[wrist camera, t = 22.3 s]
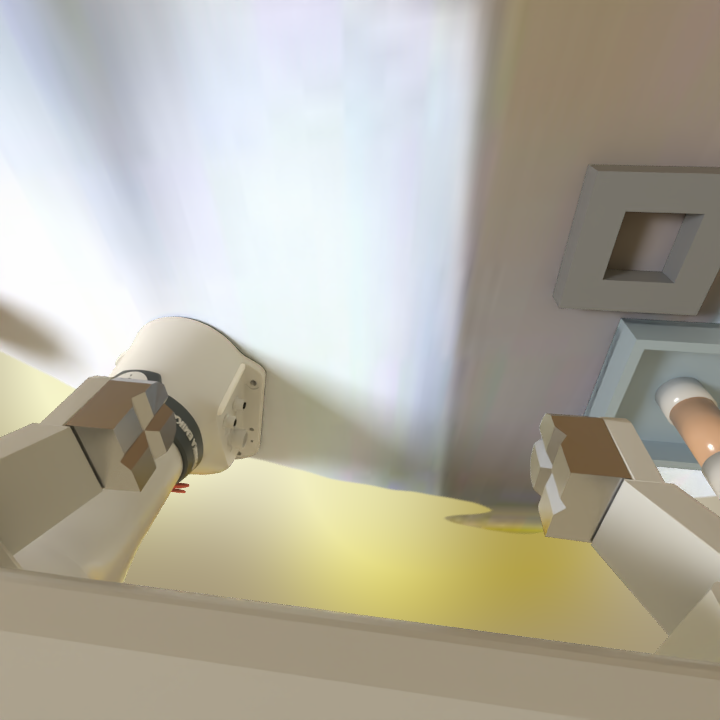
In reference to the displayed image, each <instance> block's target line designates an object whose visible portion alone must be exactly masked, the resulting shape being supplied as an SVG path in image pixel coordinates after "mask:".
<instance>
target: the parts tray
mask: <svg viewBox="0 0 720 720" xmlns="http://www.w3.org/2000/svg"><path fill="white" fill-rule="evenodd" d="M677 377H692V378H695V379H697V380H698V381H699V382H700V383H701V384H702V385H703V386H704V388H705V389H706V390H707V391H708V392H709V394H710V395H711V396H712V397H713V399H714V400H715V401H716V402H717V405H718V408H719V410H720V324H717V323H699V322H681V321H663V320H646V319H628V318H621V320H620V322H619V325H618V327H617V330H616V333H615V335H614V338H613V340H612V343H611V346H610V348H609V351H608V353H607V356H606V359H605V361H604V364H603V367H602V369H601V372H600V374H599V377H598V380H597V382H596V385H595V387H594V390H593V393H592V395H591V398H590V400H589V403H588V406H587V408H586V411H585V414H584V416H589V417H612V418H626V419H628V420H629V421H630V422H631V423H632V425H633V426H634V428H635V430H636V432H637V434H638V435H639V437H640V439H641V441H642V442H643V444H644V446H645V448H646V450H647V451H648V453H649V455H650V457H651V459H652V460H653V462H654V464H655V466H657V467H668V468H679V469H690V470H701V471H702V467H701V466H700V464H699V463H698V461H697V460H696V458H695V457H694V455H693V454H692V452H691V451H690V449H689V448H688V446H687V445H686V443H685V442H684V440H683V439H682V437H681V435H680V434H679V432H678V431H677V429H676V428H675V426H673V425H672V424H670V423H669V421H668V420H667V418H666V417H665V415H664V414H663V412H662V410H661V409H660V407H659V406H658V404H657V403H656V401H655V393H656V391H657V389H658V388H659V387H660V386H661V385H662V384H664V383H665V382H667V381H669V380H671V379H674V378H677Z"/></svg>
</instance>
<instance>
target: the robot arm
mask: <svg viewBox="0 0 720 720" xmlns="http://www.w3.org/2000/svg"><path fill="white" fill-rule="evenodd" d="M115 365H116V367H115V368H114V370H113V371H112V372H111V373H110V375H109V376H108V377H106V376H93V377H89V378H88V379H87V380H86V381H84V382H83V383H82V384H81V385H80V386H79V387H78V388H77V389H76V390H75V391H74V392H73V393H72V394H71V395H70V396H68V397H67V398H66V399H65V401H63V402H62V403H61V404H60V405H59V406H58V407H57V408H56V409H55V410H54V411H53V412H51V413H50V414H49V415H48V416H47V417H46V418H45V419H44V420H43V421H42V422H41V423H40V424H38V423H32V424H30V425H27V426H25V427H23V428H21V429H18V430H16V431H14V432H11V433H9V434H7V435H4V436H2V437H0V720H720V517H719V516H717V515H716V514H715V513H714V512H712V511H711V510H709V509H708V508H707V507H705V506H704V505H703V504H701V503H700V502H698V501H697V500H696V499H694V498H693V497H691V496H690V495H689V494H687V493H686V492H685V491H683V490H682V489H680V488H679V487H678V486H676V485H675V484H670V483H665V482H664V480H663V478H662V476H661V475H660V473H659V471H658V469H657V467H656V466H655V464H654V462H653V460H652V459H651V457H650V455H649V453H648V451H647V450H646V448H645V446H644V444H643V442H642V441H641V439H640V437H639V435H638V434H637V432H636V430H635V428H634V426H633V425H632V423H631V422H630V421H629V420H628V419H626V418H612V417H589V416H576V415H562V414H549V413H546V414H545V415H544V417H543V418H542V421H541V424H540V427H539V429H540V432H541V436H542V439H540V440H539V441H537V442H536V443H534V446H533V450H532V454H531V462H530V473H531V481H532V485H533V489H534V490H535V491H536V492H537V493H538V494H539V495H540V496H541V499H540V502H539V505H538V510H539V514H540V518H541V522H542V526H543V530H544V534H545V536H546V537H553V538H561V539H568V540H576V541H582V542H590V543H592V544H591V546H592V547H593V548H594V549H595V550H596V551H597V553H598V554H599V555H600V556H601V557H602V558H603V560H604V561H605V562H606V563H607V564H608V565H609V567H610V568H611V569H612V570H613V571H614V572H615V574H616V575H617V576H618V577H619V578H620V579H621V581H622V582H623V583H624V584H625V585H626V586H627V588H628V589H629V590H630V591H631V592H632V593H633V594H634V596H635V597H636V598H637V599H638V600H639V602H640V603H641V604H642V605H643V606H644V607H645V608H646V610H647V611H648V612H649V613H650V614H651V615H652V617H653V618H654V619H655V620H656V621H657V623H658V624H659V625H660V626H661V627H662V628H663V630H664V631H665V632H666V633H667V634H668V635H669V637H668V638H667V639H666V640H665V641H664V643H663V644H662V645H661V646H660V647H659V648H658V650H657V651H656V652H655V653H654V654H649V653H642V652H635V651H626V650H620V649H612V648H604V647H597V646H590V645H582V644H575V643H567V642H560V641H551V640H544V639H537V638H529V637H522V636H515V635H508V634H500V633H492V632H484V631H478V630H470V629H463V628H455V627H447V626H440V625H432V624H425V623H418V622H410V621H403V620H395V619H388V618H380V617H373V616H365V615H358V614H350V613H343V612H335V611H328V610H321V609H313V608H306V607H298V606H291V605H283V604H275V603H267V602H260V601H253V600H245V599H238V598H230V597H222V596H215V595H207V594H200V593H192V592H185V591H177V590H169V589H162V588H154V587H147V586H140V585H132V584H125V583H124V581H125V578H126V576H127V573H128V570H129V568H130V566H131V563H132V561H133V559H134V556H135V554H136V552H137V550H138V548H139V546H140V544H141V543H142V541H143V539H144V537H145V535H146V534H147V532H148V530H149V529H150V527H151V525H152V523H153V522H154V520H155V518H156V517H157V515H158V513H159V511H160V510H161V508H162V506H163V505H164V503H165V501H166V499H167V498H168V496H169V494H170V492H177V493H185V491H184V490H180V489H175V488H185V487H189V484H185V483H179V482H180V481H181V480H183V479H184V478H185V477H186V476H187V475H188V474H199V475H205V474H215V473H220V472H222V471H224V470H226V469H228V468H229V467H230V466H231V464H232V463H233V461H234V459H242V458H247V457H250V456H253V455H255V454H256V453H257V452H258V450H259V448H260V439H261V427H262V415H263V403H264V390H265V378H266V372H265V370H264V368H263V367H262V366H260V365H259V364H257V363H256V362H254V361H253V360H251V359H249V358H247V357H245V356H244V355H243V354H242V353H240V352H239V351H238V349H237V348H236V347H235V346H234V345H233V344H232V343H231V342H230V341H229V340H228V339H227V338H226V337H225V336H223V335H222V334H221V333H219V332H218V331H216V330H215V329H213V328H211V327H210V326H208V325H205V324H203V323H201V322H198V321H195V320H192V319H188V318H183V317H163V318H158V319H155V320H153V321H150V322H149V323H147V324H146V325H144V326H143V327H142V328H141V329H140V330H139V332H138V333H137V335H136V337H135V339H134V341H133V343H132V345H131V346H130V348H129V349H128V350H126V351H125V352H123V353H122V354H121V355H120V356H119V357H118V359H117V360H116V362H115ZM252 380H254V381H256V382H254V381H252Z"/></svg>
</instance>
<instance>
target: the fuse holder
mask: <svg viewBox="0 0 720 720" xmlns="http://www.w3.org/2000/svg"><path fill="white" fill-rule="evenodd" d="M626 211H627V212H658V213H686V216H685V218H684V221H683V223H682V225H681V228H680V230H679V233H678V235H677V237H676V240H675V242H674V245H673V247H672V249H671V252H670V254H669V257H668V259H667V261H666V264H665V266H664V269H663V271H662V272H655V271H633V270H611V269H606V268H607V265H608V262H609V259H610V256H611V253H612V250H613V247H614V244H615V241H616V238H617V235H618V232H619V229H620V226H621V223H622V221H623V218H624V215H625V212H626ZM719 269H720V167H677V166H631V165H588V168H587V172H586V176H585V179H584V183H583V187H582V190H581V194H580V198H579V201H578V205H577V209H576V212H575V216H574V220H573V223H572V227H571V231H570V234H569V238H568V242H567V245H566V249H565V253H564V256H563V260H562V264H561V267H560V271H559V275H558V278H557V282H556V286H555V289H554V293H553V298H554V300H555V302H556V303H557V305H558V307H559V308H568V309H587V310H605V311H623V312H641V313H659V314H677V315H696V316H697V314H698V311H699V309H700V307H701V305H702V303H703V301H704V299H705V297H706V295H707V293H708V291H709V289H710V287H711V285H712V283H713V281H714V279H715V277H716V275H717V273H718V271H719Z"/></svg>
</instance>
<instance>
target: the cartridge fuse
mask: <svg viewBox="0 0 720 720" xmlns="http://www.w3.org/2000/svg"><path fill="white" fill-rule="evenodd" d="M655 401H656V403H657V404H658V406H659V407H660V409H661V410H662V412H663V414H664V415H665V417H666V418H667V420H668V421H669V423H670V424H672V425H673V426H675V428H676V429H677V431H678V432H679V434H680V435H681V437H682V439H683V440H684V442H685V443H686V445H687V446H688V448H689V449H690V451H691V452H692V454H693V455H694V457H695V458H696V460H697V461H698V463H699V464H700V466H701V467H702V473H703V475H704V477H705V478H706V480H707V481H708V483H709V484H710V486H711V487H712V489H713V490H714V492H715V494H716V495H717V497H718V498H719V500H720V410H719V408H718V405H717V402H716V401H715V400H714V399H713V397H712V396H711V395H710V394H709V392H708V391H707V390H706V389H705V388H704V386H703V385H702V384H701V383H700V382H699V381H698V380H697V379H695V378H692V377H677V378H674V379H671V380H669V381H667V382H665V383H664V384H662V385H661V386H660V387H659V388H658V389H657V391H656V393H655Z"/></svg>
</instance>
